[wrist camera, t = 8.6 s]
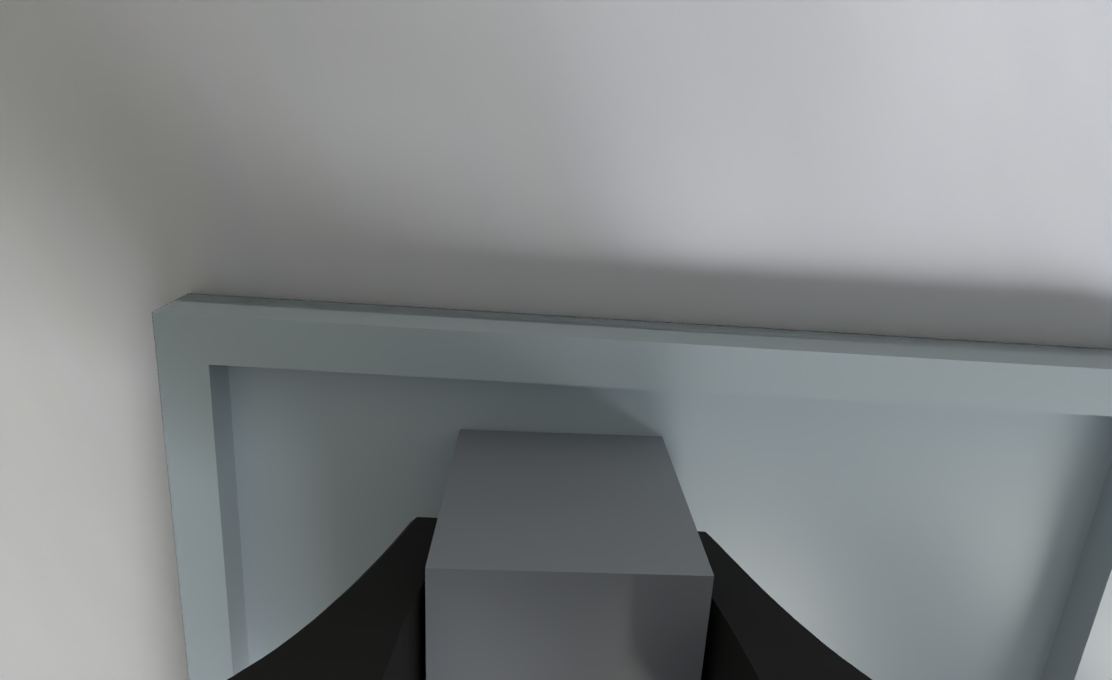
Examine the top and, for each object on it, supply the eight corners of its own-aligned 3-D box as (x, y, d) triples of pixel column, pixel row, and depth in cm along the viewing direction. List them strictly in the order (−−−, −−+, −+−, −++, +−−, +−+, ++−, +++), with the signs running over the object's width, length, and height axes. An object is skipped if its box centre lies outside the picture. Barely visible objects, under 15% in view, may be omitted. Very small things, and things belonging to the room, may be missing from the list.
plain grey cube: (662, 436, 13) (713, 576, 9) (645, 607, 14) (685, 796, 10) (460, 429, 13) (425, 568, 9) (458, 602, 14) (427, 792, 10)
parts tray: (1165, 352, 13) (1226, 376, 12) (1010, 824, 16) (1045, 879, 15) (188, 293, 12) (151, 312, 11) (230, 794, 16) (206, 848, 15)
